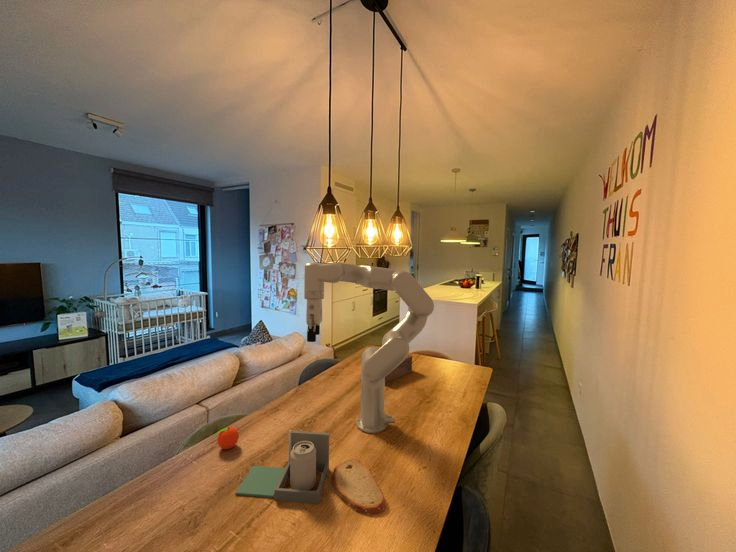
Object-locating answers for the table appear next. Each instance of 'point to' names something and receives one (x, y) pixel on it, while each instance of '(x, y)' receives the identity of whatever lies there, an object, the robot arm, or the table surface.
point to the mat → (260, 481)
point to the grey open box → (321, 466)
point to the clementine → (227, 437)
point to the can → (303, 466)
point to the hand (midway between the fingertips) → (313, 337)
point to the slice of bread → (358, 488)
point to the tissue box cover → (400, 369)
